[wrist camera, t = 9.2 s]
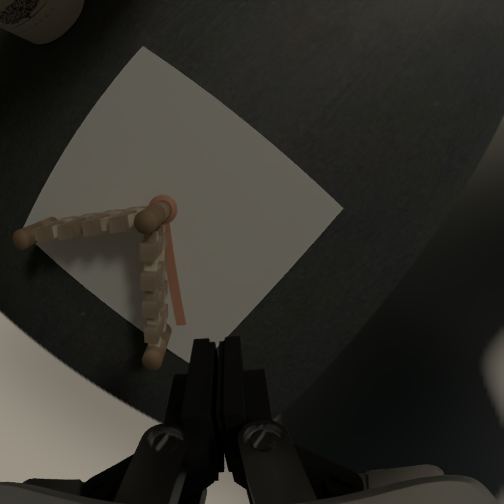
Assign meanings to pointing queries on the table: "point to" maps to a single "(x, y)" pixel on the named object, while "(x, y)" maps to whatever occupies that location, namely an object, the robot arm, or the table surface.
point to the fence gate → (155, 297)
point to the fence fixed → (94, 224)
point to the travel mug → (39, 18)
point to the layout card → (181, 202)
